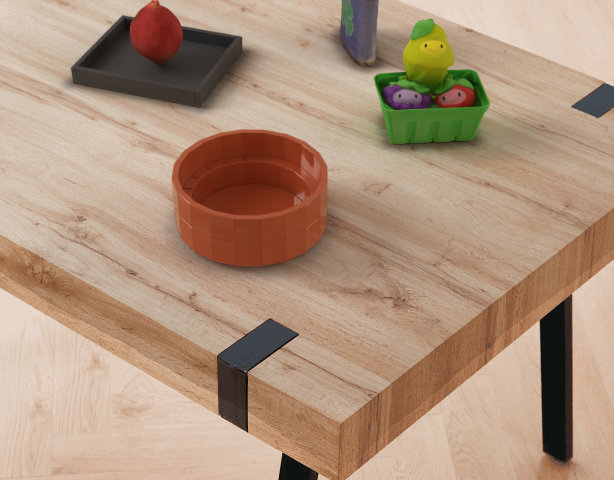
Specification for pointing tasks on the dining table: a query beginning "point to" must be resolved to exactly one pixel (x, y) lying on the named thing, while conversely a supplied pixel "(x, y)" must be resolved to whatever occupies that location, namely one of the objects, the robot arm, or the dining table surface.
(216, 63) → the tray
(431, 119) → the fruit basket
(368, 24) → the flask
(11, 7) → the dining table surface
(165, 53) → the onion
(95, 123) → the dining table surface
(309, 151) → the bowl
